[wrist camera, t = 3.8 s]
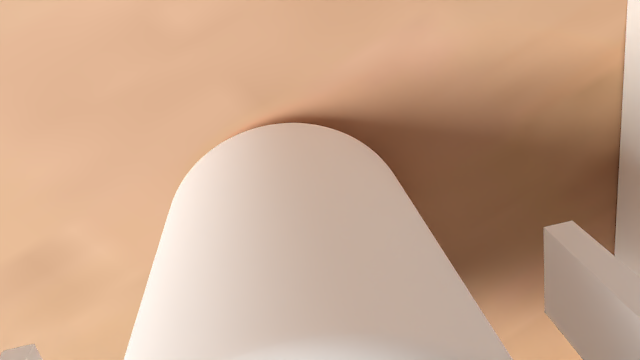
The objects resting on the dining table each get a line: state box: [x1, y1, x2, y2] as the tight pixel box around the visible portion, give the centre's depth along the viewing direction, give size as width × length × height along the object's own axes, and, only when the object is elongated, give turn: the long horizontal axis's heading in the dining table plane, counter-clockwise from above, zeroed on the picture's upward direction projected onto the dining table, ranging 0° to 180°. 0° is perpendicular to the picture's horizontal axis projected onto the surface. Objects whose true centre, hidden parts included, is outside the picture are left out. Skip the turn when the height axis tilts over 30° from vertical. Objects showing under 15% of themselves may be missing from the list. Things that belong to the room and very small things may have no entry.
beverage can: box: [124, 123, 513, 360], centre depth 13 cm, size 8×8×12 cm
